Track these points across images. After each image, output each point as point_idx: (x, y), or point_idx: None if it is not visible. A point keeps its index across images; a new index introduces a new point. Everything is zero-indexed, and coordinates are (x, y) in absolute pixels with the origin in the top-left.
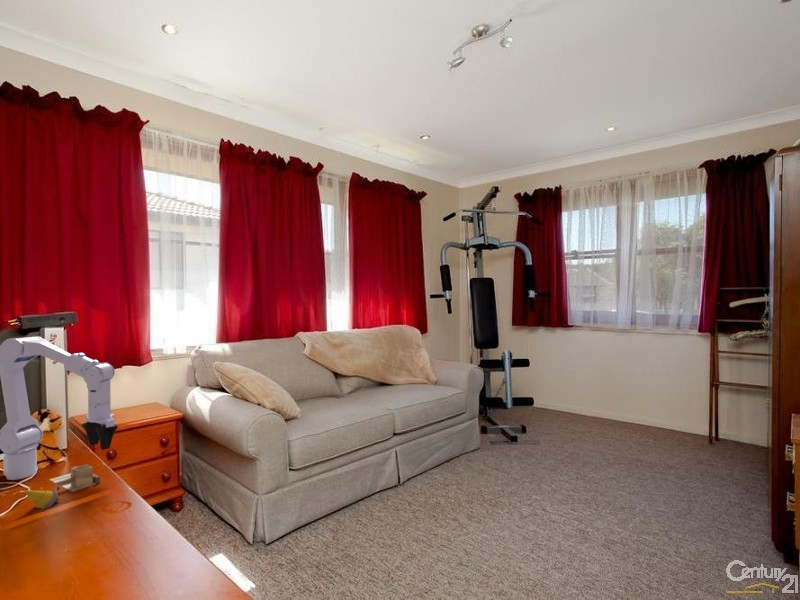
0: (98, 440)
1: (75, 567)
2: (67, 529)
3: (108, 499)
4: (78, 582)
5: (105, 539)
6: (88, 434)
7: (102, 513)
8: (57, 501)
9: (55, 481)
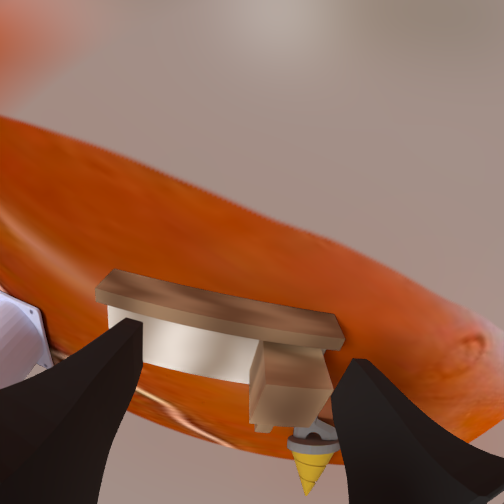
0: (133, 340)
1: (472, 429)
2: None
3: (427, 351)
4: (483, 429)
5: (482, 402)
6: (107, 453)
7: (449, 383)
8: (330, 426)
9: (149, 359)
